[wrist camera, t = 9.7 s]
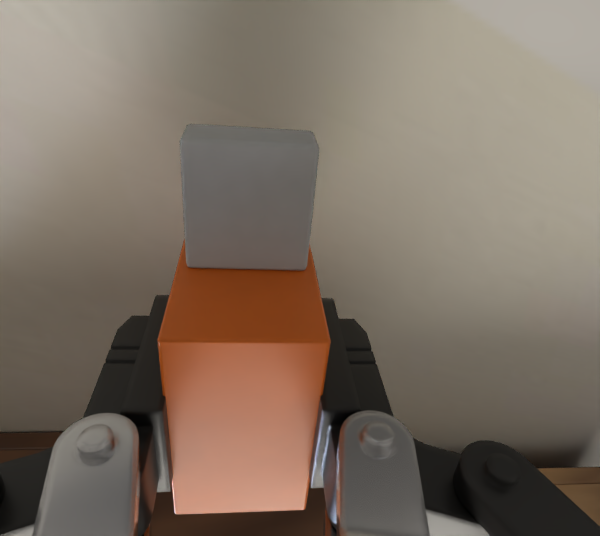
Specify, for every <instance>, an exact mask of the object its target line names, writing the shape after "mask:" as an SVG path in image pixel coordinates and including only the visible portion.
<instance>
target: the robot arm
mask: <svg viewBox="0 0 600 536" xmlns="http://www.w3.org/2000/svg"><path fill="white" fill-rule="evenodd" d="M168 298H169V295H156V297H155V300H154V303H153V306H152V309H151V313H150V316H131V317H130V318H129V319H128V320H127V321H126V322H125V323H124V324H123V325H122V326H121V327H120V328H119V329H118V330H117V332H116V335H115V337H114V340H113V343H112V345H111V350H109V353H108V355H107V358H106V363H105V364H104V366H103V368H102V371H101V373H100V376H99V379H98V381H97V384H96V386H95V389H94V391H93V394H92V397H91V399H90V402H89V404H88V407H87V409H86V412H85V414H84V417H83V419H80V420H79V421H77V422H75V423H73V424H72V425H71V426H69V427H68V428H67V429H66V430H65V431H64V432H63V433H62V434H61V435H60V436H59V437H58V439H57V441H56V442H55V444H54V446H53V447H51V448H48V449H46V450H44V451H41V452H38V453H35V454H32V455H28V456H25V457H21V458H17V459H14V460H10V461H7V462H3V463H0V536H151V528H152V527H151V518H152V514H153V509H154V504H155V498H156V493H157V492H170V491H171V485H172V479H173V471H172V461H171V450H170V439H169V429H168V418H167V407H166V397H165V396H163V392H162V382H161V372H160V362H159V352H158V342H157V339H158V336H159V332H160V328H161V325H162V321H163V317H164V313H165V310H166V306H167V302H168ZM322 303H323V308H324V312H325V317H326V322H327V326H328V331H329V335H330V340H331V343H330V350H329V356H328V363H327V370H326V377H325V383H324V390H323V394H322V395H321V396H320V402H319V409H318V416H317V423H316V429H315V436H314V443H313V449H312V456H311V463H310V470H309V477H310V486H311V488H324V494H325V501H326V509H325V514H324V522H323V536H600V526H599V525H598V524H597V523H596V522H595V521H593V520H592V519H591V518H590V517H589V516H588V515H587V514H586V513H585V512H584V511H583V510H582V509H580V508H579V507H578V506H577V505H576V504H575V503H574V502H573V501H572V500H571V499H570V498H569V497H567V496H566V495H565V494H564V493H563V492H562V491H561V490H560V489H559V488H558V487H557V486H556V485H554V484H553V483H552V482H551V481H550V480H549V479H548V478H547V477H546V476H545V475H544V474H542V473H541V472H540V471H539V470H538V469H537V468H536V467H535V466H534V465H533V464H532V463H531V462H529V461H528V460H527V459H526V458H525V457H524V456H523V455H521V454H520V453H519V452H517V451H516V450H514V449H512V448H511V447H509V446H507V445H504V444H501V443H498V442H494V441H477V442H474V443H471V444H470V445H468V446H467V447H466V448H465V449H464V450H463V453H462V454H458V453H454V452H450V451H447V450H443V449H439V448H436V447H432V446H429V445H426V444H424V443H422V442H419V441H418V440H416V439H414V438H413V437H412V435H411V433H410V432H409V430H408V429H407V428H406V426H405V425H404V424H403V423H401V422H400V421H399V420H398V419H396V418H394V416H393V414H392V411H391V408H390V404H389V401H388V398H387V395H386V392H385V389H384V386H383V383H382V380H381V376H380V373H379V370H378V367H377V364H375V362H376V361H375V358H374V355H373V352H372V351H371V345H370V342H369V339H368V336H367V333H366V332H365V331H364V330H363V328H362V327H361V326H360V325H359V324H358V323H357V322H356V321H355V320H354V319H338V315H337V311H336V307H335V303H334V300H333V299H332V298H322Z"/></svg>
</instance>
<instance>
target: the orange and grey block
mask: <svg viewBox="0 0 600 536" xmlns="http://www.w3.org/2000/svg"><path fill="white" fill-rule="evenodd" d="M180 156H181V175H182V194H183V213H184V232H185V239H184V242H183V246H182V250H181V254H180V257H179V261H178V265H177V269H176V272H175V276H174V280H173V283H172V287H171V291H170V295H169V298H168V302H167V306H166V310H165V313H164V317H163V321H162V325H161V328H160V332H159V336H158V339H157V342H158V352H159V362H160V372H161V382H162V392H163V396H165V397H166V407H167V418H168V429H169V439H170V450H171V461H172V471H173V479H172V492H173V502H174V512H175V514H205V513H233V512H261V511H290V510H304V509H305V508H306V503H307V497H308V490H309V483H310V477H309V470H310V463H311V456H312V449H313V443H314V436H315V429H316V423H317V416H318V409H319V402H320V396H321V395H322V394H323V390H324V383H325V377H326V370H327V363H328V356H329V350H330V343H331V340H330V335H329V331H328V326H327V322H326V317H325V312H324V308H323V303H322V298H321V294H320V289H319V285H318V280H317V275H316V271H315V266H314V261H313V257H312V252H311V248H310V233H311V224H312V214H313V205H314V195H315V186H316V176H317V166H318V157H319V147H318V144H317V141H316V139H315V136H314V134H313V132H311V131H303V130H287V129H270V128H253V127H236V126H220V125H203V124H189V125H187V126H186V128H185V130H184V133H183V135H182V137H181V139H180Z"/></svg>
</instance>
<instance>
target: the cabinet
mask: <svg viewBox="0 0 600 536" xmlns="http://www.w3.org/2000/svg"><path fill="white" fill-rule="evenodd" d="M62 433H63V432H32V433H0V463H3V462H7V461H10V460H14V459H17V458H21V457H25V456H28V455H32V454H35V453H38V452H41V451H44V450H46V449H48V448H51V447H53V446H54V444H55V442H56V441H57V439H58V437H59V436H60V435H61V434H62ZM325 509H326V501H325V494H324V488H311V486H310V483H309V490H308V497H307V503H306V508H305V509H304V510H290V511H261V512H233V513H205V514H175V512H174V502H173V492H172V485H171V491H170V492H157V493H156V498H155V504H154V509H153V514H152V518H151V527H152V528H151V536H323V522H324V514H325Z"/></svg>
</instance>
